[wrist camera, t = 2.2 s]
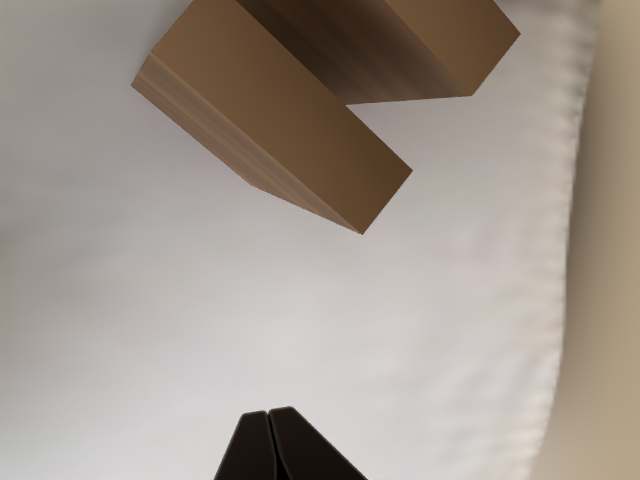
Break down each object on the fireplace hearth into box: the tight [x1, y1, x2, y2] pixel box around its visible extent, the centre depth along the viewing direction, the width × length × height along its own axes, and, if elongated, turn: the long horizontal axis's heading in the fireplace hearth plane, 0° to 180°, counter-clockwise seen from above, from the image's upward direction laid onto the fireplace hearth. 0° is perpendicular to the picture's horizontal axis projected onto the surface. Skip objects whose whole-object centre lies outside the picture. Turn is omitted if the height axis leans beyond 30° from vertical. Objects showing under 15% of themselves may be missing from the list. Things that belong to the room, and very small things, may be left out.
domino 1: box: [131, 0, 413, 235], centre depth 16 cm, size 2×5×10 cm, turn 49°
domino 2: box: [236, 0, 521, 105], centre depth 16 cm, size 2×5×10 cm, turn 49°
